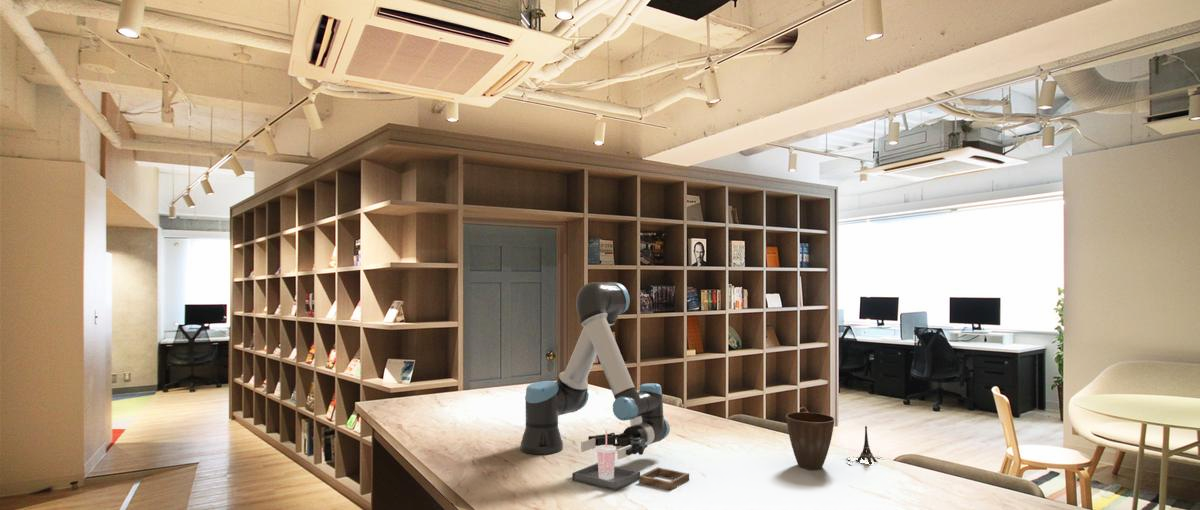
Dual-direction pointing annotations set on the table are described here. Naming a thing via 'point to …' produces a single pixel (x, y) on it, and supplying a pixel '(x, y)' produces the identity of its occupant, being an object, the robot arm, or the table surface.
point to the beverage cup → (606, 460)
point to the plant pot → (810, 438)
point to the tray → (592, 478)
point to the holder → (650, 480)
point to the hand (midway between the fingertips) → (599, 450)
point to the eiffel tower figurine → (868, 453)
